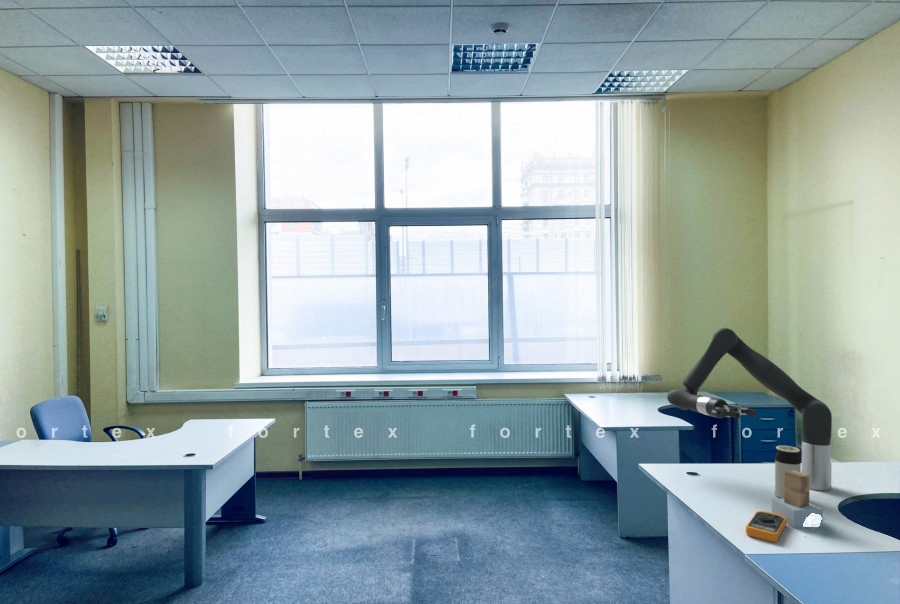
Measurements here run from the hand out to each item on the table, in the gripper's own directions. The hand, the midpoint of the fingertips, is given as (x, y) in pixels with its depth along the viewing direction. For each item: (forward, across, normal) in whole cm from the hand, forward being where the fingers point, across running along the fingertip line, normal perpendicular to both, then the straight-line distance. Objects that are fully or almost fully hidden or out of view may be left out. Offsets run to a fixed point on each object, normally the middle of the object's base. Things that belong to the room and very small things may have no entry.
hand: (747, 414), depth 202 cm
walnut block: (+23, -6, +24) cm, 34 cm away
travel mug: (+7, +12, +30) cm, 33 cm away
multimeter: (+24, -21, +30) cm, 44 cm away
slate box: (+23, -6, +30) cm, 38 cm away
